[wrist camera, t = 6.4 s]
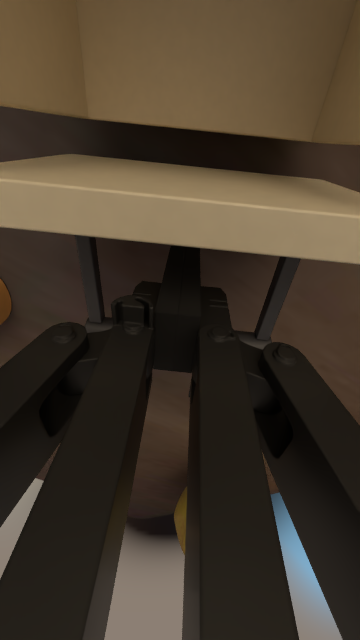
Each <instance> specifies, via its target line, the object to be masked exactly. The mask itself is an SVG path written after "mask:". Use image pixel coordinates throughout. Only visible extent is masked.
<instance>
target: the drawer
mask: <svg viewBox="0 0 360 640" xmlns="http://www.w3.org/2000/svg"><path fill="white" fill-rule="evenodd" d="M0 106H5V107H11V108H17V109H24V110H30V111H36V112H43V113H49V114H55V115H62V116H68V117H74V118H82V119H92V120H101V121H111V122H120V123H130V124H140V125H149V126H159V127H169V128H178V129H188V130H198V131H207V132H217V133H226V134H236V135H246V136H255V137H265V138H275V139H284V140H294V141H304V142H313V143H325V144H345V145H360V0H0ZM0 227H3V228H12V229H22V230H32V231H41V232H51V233H60V234H70V235H75V239H76V245H77V251H78V257H79V263H80V268H81V274H82V280H83V286H84V292H85V297H86V303H87V309H88V315H89V318H88V319H87V321H86V324H85V329H86V330H87V333H91V332H100V331H105V330H108V329H111V328H112V326H113V319H112V318H110V317H105V312H104V304H103V296H102V288H101V280H100V272H99V264H98V256H97V248H96V239H95V237H99V238H109V239H118V240H128V241H137V242H147V243H157V244H166V245H176V246H185V247H195V248H205V249H214V250H224V251H234V252H243V253H253V254H262V255H272V256H280V258H279V261H278V264H277V267H276V270H275V273H274V276H273V279H272V282H271V285H270V288H269V291H268V293H267V296H266V299H265V302H264V305H263V308H262V311H261V314H260V317H259V320H258V323H257V326H256V328H255V331H254V332H255V333H254V332H244V331H236V332H237V334H238V336H239V340H240V341H242V342H244V343H245V344H248V345H250V346H253V347H256V348H259V349H262V350H263V349H264V347H265V346H266V345H267V344H269V343H272V341H271V337H270V335H271V332H272V330H273V327H274V325H275V322H276V320H277V317H278V315H279V312H280V310H281V307H282V305H283V302H284V300H285V297H286V295H287V292H288V290H289V287H290V285H291V282H292V280H293V277H294V275H295V272H296V270H297V267H298V265H299V262H300V259H311V260H320V261H330V262H339V263H349V264H359V265H360V193H359V192H356V191H353V190H350V189H347V188H344V187H341V186H339V185H336V184H333V183H330V182H327V181H324V180H319V179H310V178H300V177H290V176H281V175H271V174H262V173H252V172H242V171H233V170H223V169H213V168H204V167H194V166H184V165H175V164H165V163H156V162H146V161H136V160H127V159H117V158H107V157H98V156H88V155H78V154H63V155H56V156H48V157H40V158H32V159H24V160H16V161H9V162H1V163H0ZM234 331H235V330H234Z"/></svg>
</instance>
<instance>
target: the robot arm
mask: <svg viewBox="0 0 360 640" xmlns="http://www.w3.org/2000/svg"><path fill="white" fill-rule="evenodd" d="M111 310H112V319H113V326H112V328H111V329H108V330H105V331H100V332H91V333H87V330H86V329H85V327H84V326H82V325H80V324H78V323H72V322H67V323H60V324H57V325H54V326H52V327H50V328H49V329H47V330H45V331H44V332H43V333H42V334H41V335H39V336H38V337H37V338H36V339H35V340H33V341H32V342H31V343H30V344H28V345H27V346H26V347H25V348H24V349H22V350H21V351H20V352H19V353H18V354H16V355H15V356H14V357H13V358H12V359H10V360H9V361H8V362H7V363H6V364H4V365H3V366H2V367H1V368H0V527H1V526H2V524H3V523H4V521H5V520H6V518H7V517H8V516H9V514H10V513H11V511H12V510H13V508H14V507H15V506H16V504H17V503H18V502H19V500H20V499H21V497H22V496H23V494H24V493H25V492H26V490H27V489H28V487H29V486H30V485H31V483H32V482H33V480H34V479H35V478H36V476H37V475H38V473H39V472H40V471H41V469H42V468H43V466H44V465H45V463H46V462H47V461H48V459H49V458H50V456H51V455H52V454H53V452H54V451H55V449H56V448H57V446H58V445H59V444H60V442H61V444H60V446H59V448H58V450H57V453H56V455H55V457H54V459H53V462H52V464H51V466H50V468H49V471H48V473H47V475H46V478H45V480H44V482H43V484H42V487H41V489H40V491H39V493H38V496H37V498H36V500H35V502H34V505H33V507H32V509H31V511H30V514H29V516H28V518H27V520H26V523H25V525H24V527H23V529H22V532H21V534H20V536H19V539H18V541H17V543H16V545H15V548H14V550H13V552H12V554H11V556H10V559H9V561H8V563H7V566H6V568H5V570H4V572H3V575H2V577H1V579H0V640H104V637H105V632H106V626H107V621H108V615H109V610H110V605H111V599H112V594H113V588H114V583H115V578H116V572H117V567H118V561H119V555H120V550H121V545H122V540H123V534H124V529H125V523H126V518H127V513H128V507H129V502H130V496H131V491H132V485H133V480H134V475H135V469H136V464H137V458H138V453H139V448H140V442H141V437H142V431H143V426H144V420H145V415H146V410H147V404H148V399H149V393H150V388H151V383H152V369H158V370H168V371H178V372H188V373H192V379H191V385H190V391H189V397H190V417H189V447H188V478H187V508H186V538H185V568H184V598H183V599H184V601H183V628H182V640H299V636H298V631H297V627H296V621H295V616H294V611H293V606H292V601H291V596H290V592H289V586H288V581H287V576H286V571H285V566H284V561H283V556H282V551H281V546H280V541H279V536H278V531H277V526H276V521H275V516H274V511H273V506H272V501H271V496H270V491H269V485H268V480H267V475H266V470H265V465H264V460H263V455H262V452H263V454H264V456H265V459H266V461H267V464H268V466H269V468H270V471H271V473H272V475H273V478H274V480H275V482H276V485H277V487H278V489H279V492H280V494H281V496H282V499H283V501H284V503H285V506H286V508H287V510H288V513H289V515H290V517H291V519H292V522H293V524H294V527H295V529H296V531H297V534H298V536H299V538H300V541H301V543H302V545H303V548H304V550H305V552H306V555H307V557H308V559H309V562H310V564H311V566H312V569H313V571H314V573H315V576H316V578H317V580H318V583H319V585H320V587H321V590H322V592H323V594H324V597H325V599H326V601H327V604H328V606H329V608H330V611H331V613H332V615H333V618H334V620H335V622H336V625H337V627H338V629H339V632H340V634H341V636H342V638H343V640H360V426H359V424H358V423H357V422H356V421H355V419H354V418H353V417H352V415H351V414H350V413H349V412H348V410H347V409H346V408H345V407H344V405H343V404H342V403H341V402H340V400H339V399H338V398H337V397H336V395H335V394H334V393H333V391H332V390H331V389H330V388H329V386H328V385H327V384H326V383H325V381H324V380H323V379H322V378H321V376H320V375H319V374H318V373H317V371H316V370H315V369H314V367H313V366H312V365H311V364H310V362H309V361H308V360H307V359H306V357H305V356H304V355H303V354H302V353H301V352H300V351H299V350H298V349H296V348H294V347H292V346H291V345H288V344H285V343H280V342H273V343H269V344H267V345H266V346H265V347H264V349H263V350H262V349H259V348H256V347H253V346H250V345H248V344H245V343H244V342H242V341H240V340H239V336H238V334H237V332H236V331H234V330H233V329H232V326H231V321H230V315H229V309H228V304H227V298H226V294H225V293H224V292H223V291H222V289H221V288H214V287H204V286H201V281H200V248H195V247H185V246H176V245H171V248H170V252H169V256H168V260H167V264H166V268H165V272H164V276H163V280H162V283H157V282H147V281H142V282H141V283H139V284H138V285H137V286H136V287H135V289H134V292H133V294H132V295H127V296H123V297H120V298H118V299H116V300H114V301H113V302H112V304H111ZM261 449H262V450H261Z"/></svg>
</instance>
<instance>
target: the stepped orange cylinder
mask: <svg viewBox="0 0 360 640" xmlns="http://www.w3.org/2000/svg"><path fill="white" fill-rule="evenodd" d="M10 312H11V298H10V295H9V292H8V290H7V288H6V286H5V284H4V283H3V281H2V280H1V278H0V325H1V324H2V323H3V322H4V321H5V320H6V319H7V318H8V316H9V315H10Z"/></svg>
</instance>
